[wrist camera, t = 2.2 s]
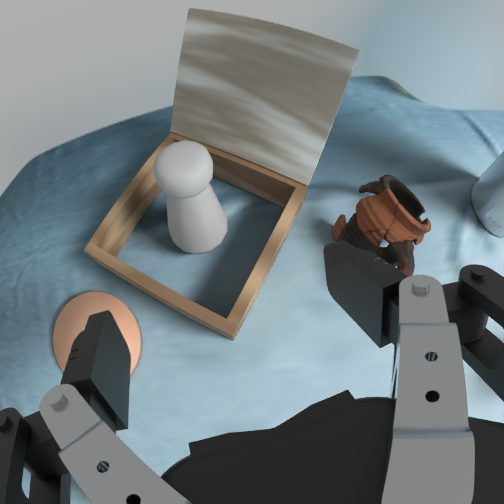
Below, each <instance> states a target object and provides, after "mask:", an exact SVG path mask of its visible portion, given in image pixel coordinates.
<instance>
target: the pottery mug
mask: <svg viewBox="0 0 504 504" xmlns="http://www.w3.org/2000/svg"><path fill="white" fill-rule="evenodd" d="M364 192H370V193H373V194H375V196H371V197H366V198H363V199H361V200H360V201H359V202H358V204H357V205H356V213H354V214H353V216H352V217H351V218H350V220H349V222H348V223H346V219H345V215H343V214H342V215H340V216H339V218H338V220H337V221H336V223H335V225H334V226H333V235H334V238H335V241H336V242H339V241H342V240H345V241H347V242H348V243H350V244H351V245H352V246H354V247H355V248H357V249H359V248H360V249H364V250H367V251H371V252H373V253H374V254H376V255H377V256H379V257H380V258H381V259H383V260H385V261H386V262H387V263H389V264H391V265H392V266H394V267H396V266H397V269H398V270H400V271H401V272H403V273H404V274H406V275H407V276H408V277H409V276H412V274H413V272H414V267H415V264H414V257H413V251H414V245H413V242H414V244H415V245H418V244H419V243H420V242H422V240H423V238H424V234H425V233H427V232H429V231H430V230H431V223H430V221H429V219H428V218H426V219H425V220H424V221H423V222H422V220H421V219H420V215H421V214H423V213H424V212H425V209H424V207H423V206H422V204H421V203H420V201H419V200H418V199H417V198H416V196H415V195H414V194H413V193H412V192H411V191H410V190H409V189H408V188H407V187H406V186H405V185H404V184H403V183H402V182H400V181H399V180H398V179H396V178H394V177H393V176H390V175H384V176H382V177H381V178H380V181H374V182H370V183H368V184H366V185H363V186H361V188H360V189H359V193H364ZM383 239H385V240H386V241H387V242H388V243H389V245H388V246H387V247H380V243H381V242H382V240H383Z"/></svg>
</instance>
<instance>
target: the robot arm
mask: <svg viewBox="0 0 504 504" xmlns="http://www.w3.org/2000/svg"><path fill="white" fill-rule="evenodd" d="M471 199H472V204H473V208H474V210H475V212H476V214H477V216H478V218H479V220H480V221H481V223H482V224H483V225H484V226H485V227H486V229H487V230H489V231H490V232H491V233H492V234H494V235H496V236H499V237H504V151H503V153H502V154H501V155H500V156H499V157H498V158H497V159H496V160H495V161H494V162H493V163H492V164H491V165H490V167H489V168H488V169H487V170H486V171H485V172H484V173H483V174H482V175H481V176H480V177H479V180H478V181H477V182H476V183H475V184H474V186H473V187H472V190H471ZM324 260H325V270H326V280H327V287H328V290H329V292H330V294H331V296H332V298H333V299H334V300H335V301H336V302H337V303H338V304H339V305H340V306H341V307H342V308H343V309H344V310H345V311H346V313H347V314H348V315H349V316H350V317H351V318H352V319H353V320H354V321H355V322H356V323H357V324H358V325H359V326H360V327H361V328H362V330H363V331H364V332H365V333H366V334H367V335H368V336H369V337H370V338H371V339H372V340H373V341H374V342H375V343H376V345H377V346H378V347H379V348H381V347H384V346H386V345H388V344H390V343H393V344H394V354H393V367H392V378H391V388H390V397H389V398H388V397H366V398H358V399H354V397H353V396H352V395H351V393H350V392H349V390H346V391H344V392H341V393H339V394H337V395H334V396H332V397H330V398H327V399H325V400H322V401H320V402H317V403H315V404H312V405H310V406H309V407H307V408H306V409H304V410H303V411H301V412H300V413H298V414H296V415H295V416H293V417H292V418H290V419H289V420H287V421H285V422H284V423H282V424H280V425H279V426H277V427H275V428H272V429H265V430H256V431H245V432H233V433H226V434H222V435H219V436H215V437H211V438H207V439H203V440H199V441H195V442H191V443H189V448H190V454H191V455H189V456H187V457H185V458H183V459H182V460H180V461H178V462H177V463H175V464H174V465H173V466H171V467H170V468H169V469H168V470H167V471H166V472H165V473H164V474H163V475H162V476H161V477H159V476H158V475H157V474H156V473H155V472H154V471H153V470H151V469H150V468H149V467H148V466H147V465H146V464H145V463H144V462H143V461H142V460H141V459H140V458H139V457H138V456H137V455H136V454H134V453H133V452H132V451H131V450H130V449H129V448H128V447H127V446H126V445H125V444H124V443H123V441H122V440H121V439H120V438H119V437H118V436H117V435H116V431H117V430H123V429H128V408H129V385H130V369H131V354H130V350H129V347H128V345H127V342H126V341H125V339H124V337H123V335H122V333H121V331H120V329H119V327H118V325H117V323H116V321H115V319H114V317H113V315H112V313H111V312H110V311H109V310H106V311H102V312H99V313H95V314H92V315H89V317H88V320H87V323H86V326H85V330H84V331H81V332H80V333H79V335H78V336H77V337H76V338H75V340H74V341H73V344H72V347H71V350H70V351H71V353H69V356H68V361H67V363H66V366H65V370H64V373H63V376H62V380H61V384H60V385H58V386H56V387H54V388H52V389H51V390H49V391H48V392H47V393H46V394H45V395H44V397H43V398H42V400H41V402H40V407H39V409H40V411H38V412H35V413H33V414H31V415H29V416H26V417H24V418H23V416H22V415H21V414H20V413H19V412H18V411H17V410H16V409H15V408H6V409H3V410H2V411H0V504H70V479H71V475H72V477H73V478H74V480H75V481H76V482H77V484H78V485H79V487H80V488H81V490H82V491H83V492H84V494H85V495H86V496H87V498H88V499H89V500H90V502H91V503H92V504H504V423H499V422H493V421H488V420H483V419H478V418H473V417H468V409H467V395H466V385H465V376H464V367H463V360H464V361H465V362H466V363H467V364H468V365H469V366H470V367H471V368H472V369H473V370H474V371H475V372H476V373H477V374H478V375H479V376H480V377H481V378H482V379H483V380H484V381H485V382H486V383H487V384H488V385H489V386H490V387H491V389H492V390H493V391H494V392H495V393H496V394H497V395H498V396H499V397H500V398H501V399H502V400H503V401H504V343H503V342H502V341H501V340H499V339H498V338H497V337H496V336H495V335H494V334H492V333H491V332H490V331H489V330H488V329H487V328H486V324H487V321H488V317H491V318H492V319H493V320H494V321H496V322H497V323H498V324H499V325H501V326H502V327H503V329H504V277H503V276H501V275H500V274H498V273H497V272H495V271H493V270H492V269H490V268H488V267H486V266H483V265H467V266H465V267H463V268H462V269H461V270H460V274H459V281H458V282H454V283H449V284H444V285H441V283H440V282H439V281H438V280H436V279H435V278H433V277H430V276H425V275H414V276H409V277H408V276H407V275H406V274H404V273H403V272H401V271H400V270H398V269H397V268H395V267H394V266H392V265H391V264H389V263H387V262H386V261H385V260H383V259H381V258H380V257H379V256H377V255H376V254H374V253H373V252H371V251H367V250H364V249H360V248H359V249H357V248H355V247H354V246H352V245H351V244H350V243H348V242H347V241H345V240H342V241H339V242H335V243H332V244H329V245H326V246H325V247H324ZM462 359H463V360H462ZM23 468H25V469H27V470H28V471H29V472H30V473H31V482H30V492H29V499H28V498H27V497H26V496H25V494H24V492H23V490H22V476H23Z"/></svg>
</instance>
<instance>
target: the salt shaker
mask: <svg viewBox="0 0 504 504" xmlns="http://www.w3.org/2000/svg"><path fill="white" fill-rule="evenodd" d="M153 172H154V176H155V179H156V181H157V183H158V185H159V187H160V189H161V190H162V191H164V192H165V193H166V199H167V216H168V231H169V234H170V236H171V238H172V240H173V242H174V243H175V244H176V245H177V246H178V247H179V248H181V249H182V250H183V251H184V252H188V253H193V254H201V253H205V252H210V251H212V250H213V249H214V248H216V247H217V246H218V245H220V244H221V242H222V240H223V239H224V237H225V235H226V233H227V217H226V215H225V213H224V211H223V209H222V207H221V205H220V203H219V201H218V199H217V197H216V195H215V193H214V190H213V188H212V186H211V184H210V181H211V179H212V177H213V161H212V158H211V156H210V154H209V152H208V151H207V149H206V147H204V146H202V145H201V144H199V143H197V142H193V141H185V140H184V141H180V142H175V143H172V144H170V145H169V146H167V147H165V148H164V149H162V150H161V151H160V153H159V154H158V156H157V157H156V158H155V162H154V168H153Z"/></svg>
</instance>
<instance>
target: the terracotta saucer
mask: <svg viewBox="0 0 504 504" xmlns="http://www.w3.org/2000/svg"><path fill="white" fill-rule="evenodd" d="M106 310H109V311H110V312H111V313H112V315H113V317H114V319H115V321H116V323H117V325H118V327H119V329H120V331H121V333H122V335H123V337H124V339H125V341H126V342H127V345H128V347H129V350H130V354H131V369H130V376H131V375H132V374H133V372H134V371H135V369H136V367H137V365H138V363H139V360H140V357H141V351H142V335H141V330H140V327H139V323H138V321H137V319H136V317H135V315H134V314H133V312H132V311H131V310H130V308H129V307H128V306H127V305H126V304H125V303H123V302H122V301H121V300H119V299H118V298H116V297H114V296H112V295H110V294H108V293H104V292H98V291H93V292H86V293H83V294H80V295H78V296H76V297H75V298H73V299H72V300H71V301H69V302H68V303H67V304H66V305H65V307H64V308H63V309H62V311H61V312H60V314H59V316H58V318H57V320H56V323H55V327H54V332H53V347H54V353H55V356H56V359H57V362H58V364H59V366H60V368H61V369H62V371H63V372H64V370H65V366H66V363H67V361H68V356H69V353H71V351H70V350H71V347H72V344H73V341H74V340H75V338H76V337H77V336H78V335H79V333H80V332H81V331H84V330H85V326H86V323H87V320H88V317H89V315H92V314H95V313H99V312H102V311H106Z"/></svg>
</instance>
